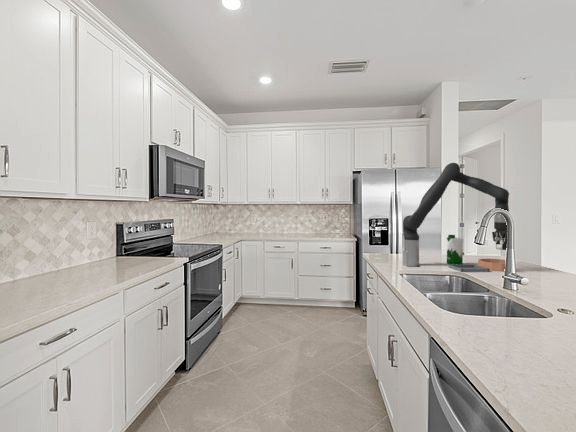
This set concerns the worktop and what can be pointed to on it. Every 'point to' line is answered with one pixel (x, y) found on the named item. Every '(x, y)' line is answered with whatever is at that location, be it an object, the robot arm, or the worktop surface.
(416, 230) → the robot arm
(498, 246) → the white pebble
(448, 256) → the milk carton
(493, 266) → the bowl
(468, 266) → the tray
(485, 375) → the worktop surface
